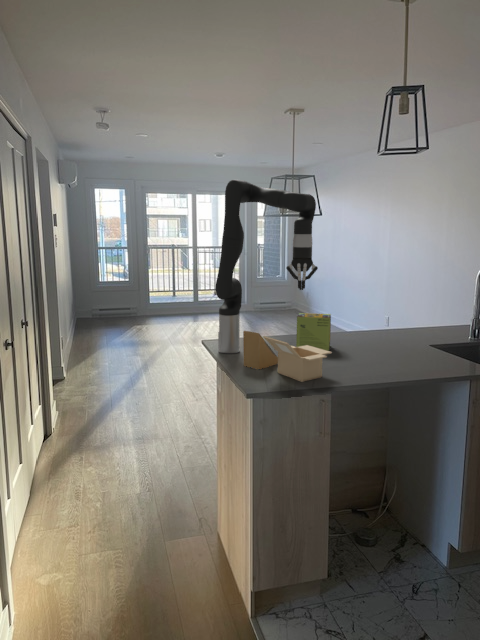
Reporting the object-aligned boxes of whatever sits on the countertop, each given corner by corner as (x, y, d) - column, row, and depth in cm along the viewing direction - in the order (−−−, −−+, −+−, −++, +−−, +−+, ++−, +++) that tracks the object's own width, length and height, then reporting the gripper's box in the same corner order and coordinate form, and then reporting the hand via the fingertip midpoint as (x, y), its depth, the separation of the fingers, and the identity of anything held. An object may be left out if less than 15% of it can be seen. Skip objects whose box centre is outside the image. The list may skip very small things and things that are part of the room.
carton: (272, 371, 192) (273, 348, 190) (301, 365, 200) (302, 343, 199) (307, 384, 176) (308, 359, 174) (337, 376, 184) (337, 353, 182)
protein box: (329, 351, 223) (330, 317, 220) (295, 349, 226) (296, 316, 223) (330, 345, 233) (331, 313, 230) (297, 344, 236) (298, 312, 233)
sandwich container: (283, 362, 205) (283, 327, 202) (259, 370, 194) (259, 333, 191) (267, 358, 210) (267, 324, 208) (243, 366, 199) (243, 330, 197)
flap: (277, 349, 187) (276, 350, 187) (264, 335, 183) (263, 337, 182) (301, 357, 176) (300, 358, 176) (287, 342, 172) (286, 344, 171)
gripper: (285, 246, 190) (284, 290, 193) (319, 246, 188) (318, 291, 191) (285, 245, 197) (285, 288, 200) (319, 245, 195) (317, 288, 198)
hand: (301, 289), depth 196 cm, fingers closed
